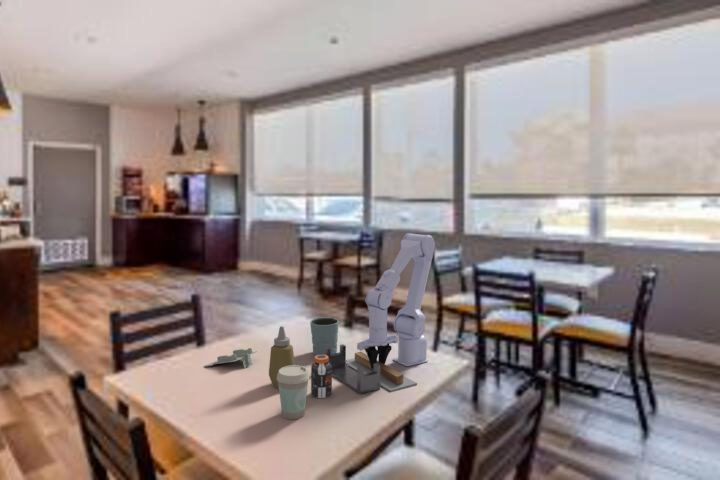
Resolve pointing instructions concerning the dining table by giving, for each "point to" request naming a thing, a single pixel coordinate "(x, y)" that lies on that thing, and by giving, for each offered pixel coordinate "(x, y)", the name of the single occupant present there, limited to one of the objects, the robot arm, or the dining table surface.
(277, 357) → the squeeze bottle
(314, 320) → the teal tumbler
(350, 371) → the dark grey cradle
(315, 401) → the dining table surface
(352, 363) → the grey mat
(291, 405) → the coffee cup
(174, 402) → the dining table surface
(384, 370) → the walnut bar
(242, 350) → the metal bracket
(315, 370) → the pill bottle
